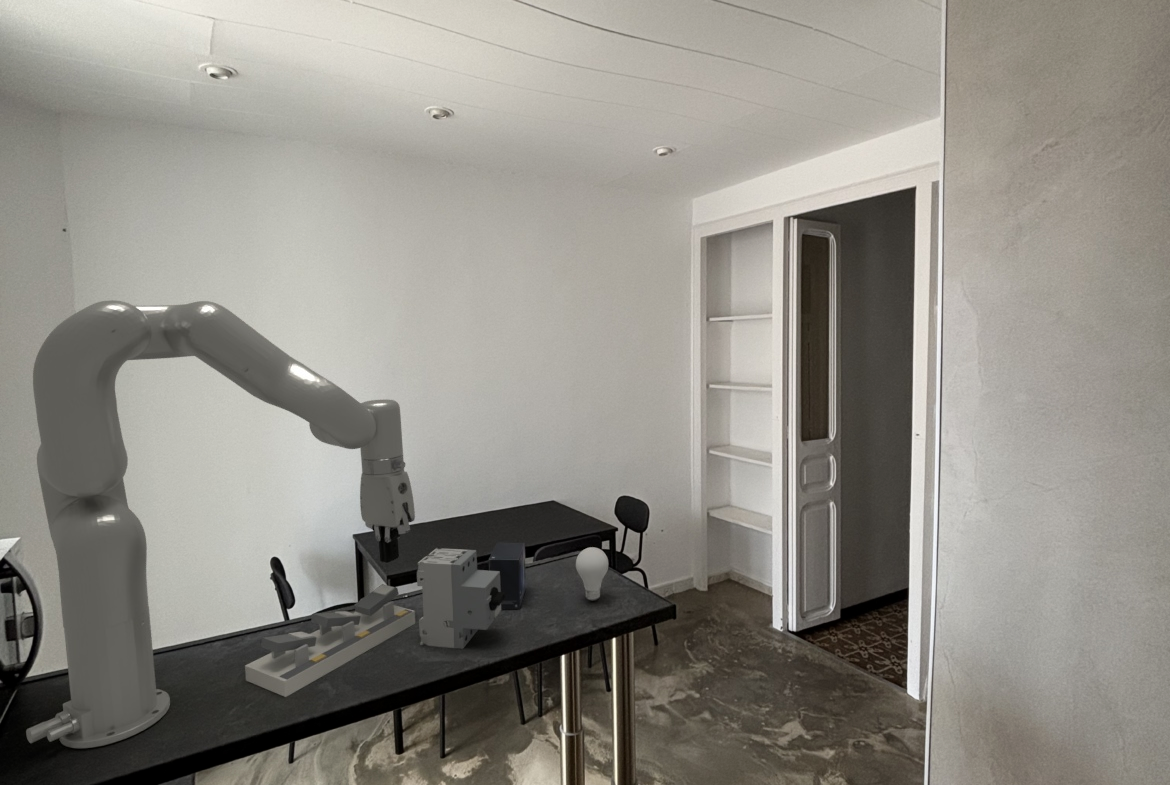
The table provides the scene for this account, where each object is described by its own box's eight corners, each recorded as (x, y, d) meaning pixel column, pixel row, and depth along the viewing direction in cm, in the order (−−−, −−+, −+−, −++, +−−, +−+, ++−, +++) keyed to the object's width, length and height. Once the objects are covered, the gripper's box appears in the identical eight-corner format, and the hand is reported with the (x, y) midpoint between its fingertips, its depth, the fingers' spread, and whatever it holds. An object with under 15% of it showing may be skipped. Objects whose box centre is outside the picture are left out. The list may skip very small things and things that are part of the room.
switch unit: (285, 697, 92) (283, 663, 92) (246, 680, 97) (243, 648, 97) (415, 623, 116) (414, 596, 115) (378, 613, 121) (376, 587, 120)
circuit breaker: (496, 651, 105) (493, 566, 103) (420, 645, 108) (416, 562, 106) (510, 631, 112) (508, 551, 111) (438, 625, 115) (435, 548, 114)
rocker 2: (326, 627, 102) (328, 617, 102) (310, 622, 104) (313, 612, 104) (358, 624, 108) (360, 615, 108) (343, 619, 110) (345, 610, 110)
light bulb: (579, 593, 128) (578, 542, 127) (610, 594, 127) (609, 543, 126) (574, 607, 121) (573, 553, 120) (607, 608, 120) (606, 554, 120)
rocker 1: (276, 652, 94) (278, 641, 94) (260, 646, 96) (262, 636, 96) (315, 646, 100) (316, 635, 100) (299, 640, 102) (301, 630, 102)
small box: (521, 610, 121) (519, 558, 120) (488, 610, 121) (487, 559, 120) (527, 588, 131) (525, 541, 130) (497, 589, 131) (495, 541, 130)
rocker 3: (370, 616, 110) (368, 608, 110) (355, 611, 112) (353, 604, 112) (398, 594, 116) (397, 586, 116) (383, 590, 118) (382, 583, 118)
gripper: (426, 464, 114) (432, 559, 116) (371, 458, 121) (377, 548, 123) (396, 473, 108) (403, 573, 109) (339, 466, 115) (346, 560, 117)
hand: (389, 559), depth 116 cm, fingers closed
